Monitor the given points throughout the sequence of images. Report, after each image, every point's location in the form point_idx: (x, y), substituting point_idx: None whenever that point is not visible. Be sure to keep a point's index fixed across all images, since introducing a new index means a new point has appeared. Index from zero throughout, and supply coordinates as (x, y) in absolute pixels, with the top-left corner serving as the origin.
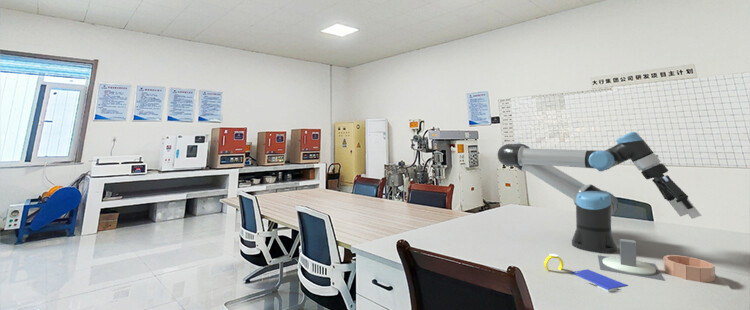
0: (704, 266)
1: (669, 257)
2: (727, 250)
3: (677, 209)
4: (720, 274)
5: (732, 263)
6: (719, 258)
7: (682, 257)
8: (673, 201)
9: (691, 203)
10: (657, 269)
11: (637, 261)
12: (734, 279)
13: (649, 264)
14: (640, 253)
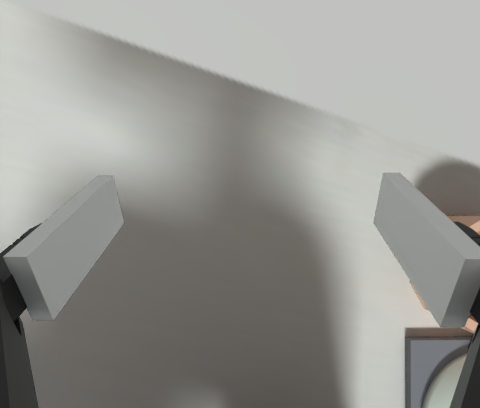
0: None
1: (470, 319)
2: (55, 59)
3: (98, 243)
4: None
5: (243, 107)
6: (197, 124)
7: None
8: (52, 281)
9: (456, 227)
10: (468, 342)
11: (445, 394)
12: (416, 160)
13: (427, 356)
14: (272, 359)
